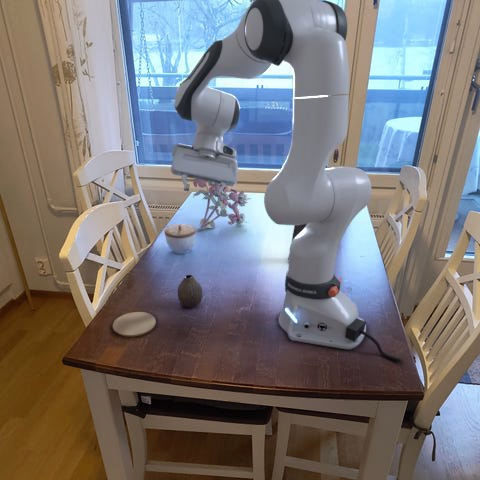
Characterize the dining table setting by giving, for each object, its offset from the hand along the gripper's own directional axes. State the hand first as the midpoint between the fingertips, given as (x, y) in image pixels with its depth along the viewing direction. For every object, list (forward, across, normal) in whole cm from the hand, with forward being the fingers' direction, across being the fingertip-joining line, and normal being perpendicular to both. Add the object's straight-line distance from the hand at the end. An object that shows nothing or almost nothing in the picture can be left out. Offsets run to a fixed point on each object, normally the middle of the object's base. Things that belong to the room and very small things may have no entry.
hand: (201, 193), depth 128 cm
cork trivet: (+42, -14, -12) cm, 46 cm away
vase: (+34, 0, -6) cm, 35 cm away
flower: (-3, +14, +41) cm, 43 cm away
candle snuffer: (+15, +36, +13) cm, 41 cm away
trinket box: (+13, -2, +25) cm, 28 cm away
